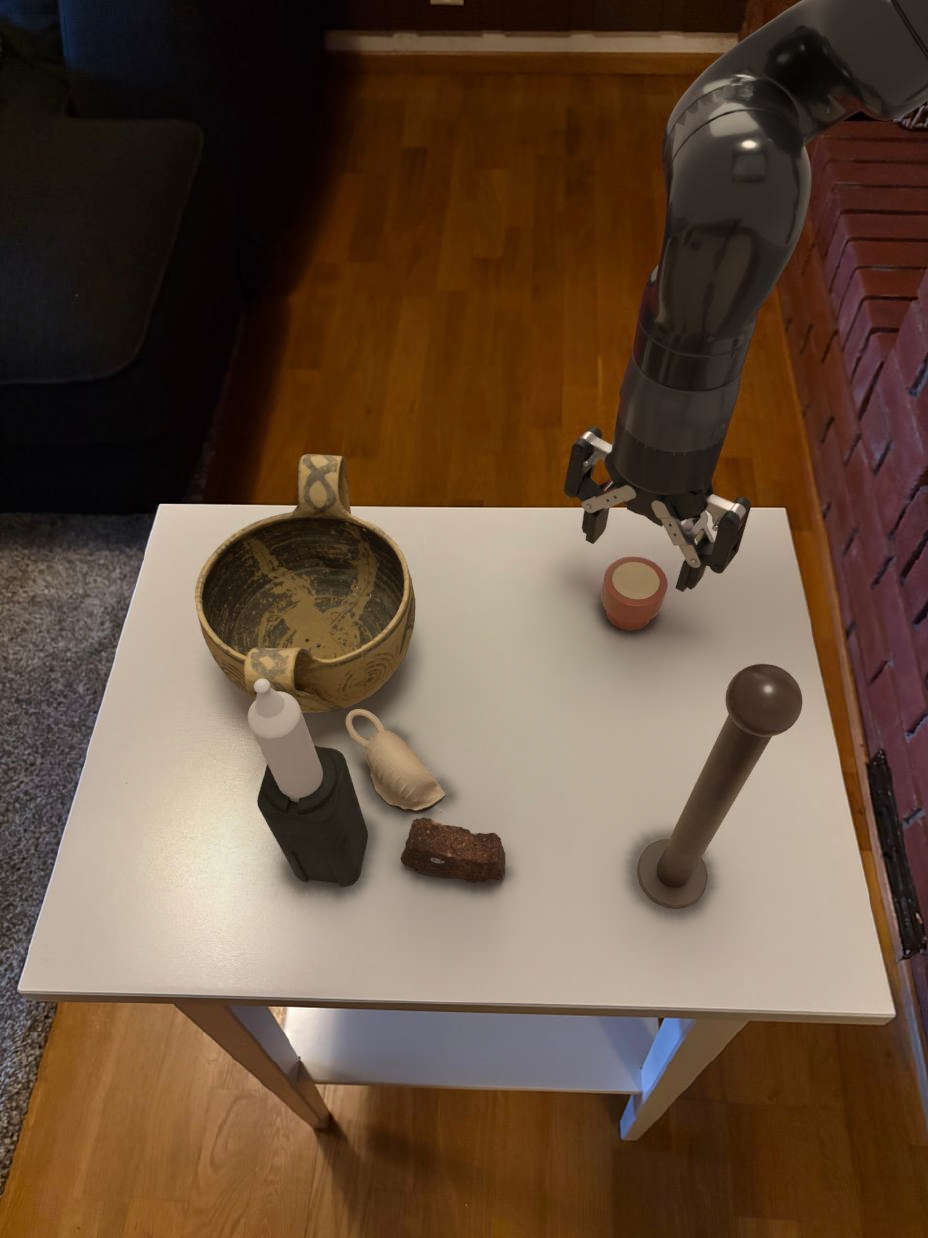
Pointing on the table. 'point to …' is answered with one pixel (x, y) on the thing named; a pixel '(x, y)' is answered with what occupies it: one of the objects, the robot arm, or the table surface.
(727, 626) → the table surface
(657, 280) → the robot arm
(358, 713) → the decorative ornament
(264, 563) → the ceramic bowl
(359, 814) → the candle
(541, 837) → the table surface
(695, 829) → the walnut post
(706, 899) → the table surface
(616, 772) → the table surface
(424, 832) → the stone
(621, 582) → the terracotta bowl
